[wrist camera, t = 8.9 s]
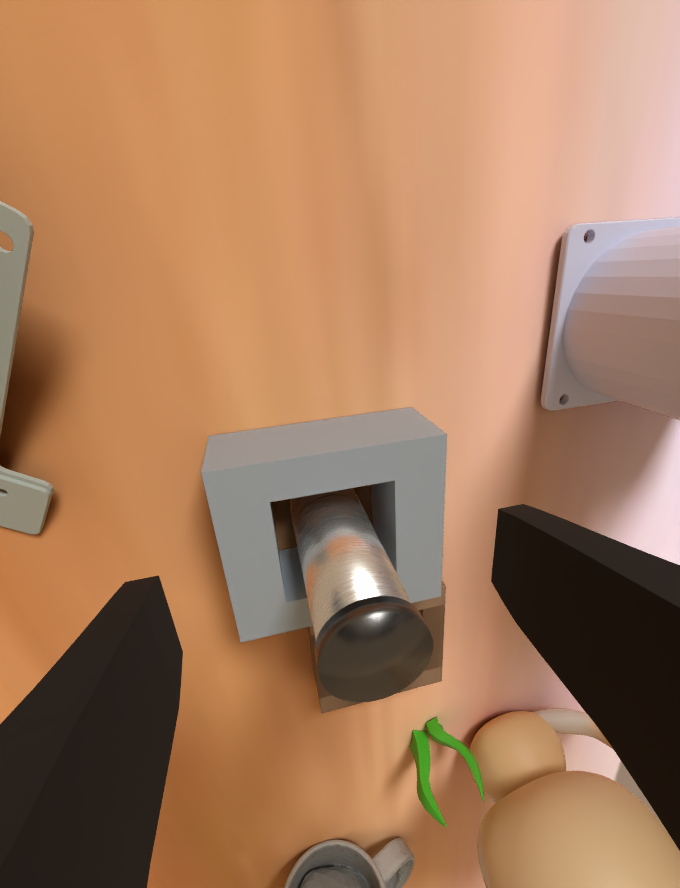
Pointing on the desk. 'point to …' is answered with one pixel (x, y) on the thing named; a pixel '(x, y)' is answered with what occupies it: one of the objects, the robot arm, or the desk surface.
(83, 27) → the desk surface
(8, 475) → the metal bracket
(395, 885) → the ceramic mug
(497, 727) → the kitten
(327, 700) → the mount
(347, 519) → the pin
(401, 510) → the dock
